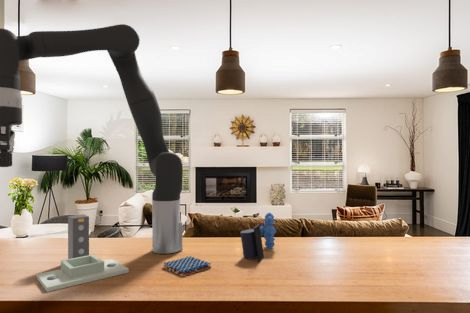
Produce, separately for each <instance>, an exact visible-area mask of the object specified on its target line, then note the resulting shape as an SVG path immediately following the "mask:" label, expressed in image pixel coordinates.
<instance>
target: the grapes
mask: <svg viewBox="0 0 470 313" xmlns="http://www.w3.org/2000/svg"><path fill="white" fill-rule="evenodd" d="M274 218H275V216H274V215H273V214H272V213H271V212H267V213H266V214H265V216H264V223H263V225H261V226H260V232H261V236H263V238H264V240H265V241H264V245H265V247H266V248H267V249H268V250H272V249H273V248H274V247H275V245H276V244H275V242H274V241H275V234H276V232H277V229H276V228H275V227H274V223H275V219H274Z"/></svg>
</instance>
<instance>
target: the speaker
mask: <svg viewBox="0 0 470 313" xmlns="http://www.w3.org/2000/svg"><path fill="white" fill-rule="evenodd" d="M240 239H241V246H242V253H243V258H244V259H247V260H249V259H251V260H252V259H256V258H257V259H258V263H261V262H262V260H263V259H264V258H265V254H264V246H263V240H262V235H261V232H260V224H257V225H255V226H254V227H253V228H248V229H244V230H242V231H240Z"/></svg>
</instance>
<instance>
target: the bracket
mask: <svg viewBox="0 0 470 313" xmlns="http://www.w3.org/2000/svg"><path fill="white" fill-rule="evenodd" d="M129 271H130V270H129V268H128V267H126V266H125V265H123V264H122V263H120V262H118V261H117V260H115V259H114V258H109V259H105V260H103V259H102V258H101V259H100V258H99V257H98V256H96V255H95V254H89V255H88V256H83V257H77V258H72V259H68V258H67V259H63V260H60V269H56V270H50V271H46V272H41V273H40V272H39V273H36V279H37V280H38V282H39V283H40V285H41V286H42V287H43V289H44V290H45V292H46V293H48V292H51V291H57V290H61V289H66V288H69V287H74V286H78V285H81V284H86V283H90V282H94V281H99V280H103V279H107V278H111V277H115V276H119V275H120V276H121V275H123V274H127V273H130V272H129Z"/></svg>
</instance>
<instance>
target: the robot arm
mask: <svg viewBox="0 0 470 313" xmlns="http://www.w3.org/2000/svg"><path fill="white" fill-rule="evenodd" d="M139 46H140V36H139V33H138V32H137V30H136V29H135V28H134V27H132V26H131V25H128V24H125V23H124V24H115V25H109V26H103V27H100V28H99V27H98V28H92V29H91V28H90V29H89V28H88V29H79V30H78V29H77V30H42V31H31V32H29V34H27V35H19V36H17V35H15V33H14V32H12V31H11V30H9V29H7V28H6V29H5V28H0V168H9V167H12V166H13V153H14V148H15V136H16V131H14V130H13V129H12V127H13V126H20V125H22V124H23V101H22V99H23V98H22V91H21V82H22V81H21V75H20V62H21V61H27V60H32V59H36V58H57V57H58V58H59V57H68V56H73V55H78V54H82V53H88V52H94V51H107V53H108V56H109V57H110V59H111V62H112V64H113V66H114V67H115V70H116V72H117V75H118V77H119V79H120V82H121V86H122V89H123V94H124V97H125V99H126V102H127V105H128V108H129V110H130V113H131V116H132V119H133V121H134V123H135V126H136V129H137V131H138V134H139V136H140V138H141V140H142V143H143V147H144V149H145V154H146V158H147V162H148V165H149V170H150V172H151V173H152V175H153V176H154V177H155V185H154V189H153V191H152V194H151V195H152V201H151V203H152V208H151V210H152V213H151V214H152V217H151V219H152V220H151V222H152V226H151V227H152V232H151V233H152V235H151V236H152V237H151V238H152V239H151V240H152V244H151V247H152V252H153V253H155V254H160V255H161V254H162V255H167V254H173V253H177V252H180V251H183V221H181V193H182V191H183V176H184V174H183V171H184V170H183V162H182V159H181V157H180V156H179V154H176V153H175V152H170V151H169V148H168V146H167V143H166V140H165V138H164V137H165V136H164V133H163V123H162V122H163V121H162V113H161V108H160V106H159V102H158V100H157V97H156V95H155V92H154V90H153V89H152V87H151V85H150V84H149V83H148V80H147V79H146V78H145V76H144V75H143V73H142V72H141V71H142V70H141V69H140V66H139V64H138V60H137V55H136V51H137V49H138V48H139Z"/></svg>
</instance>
